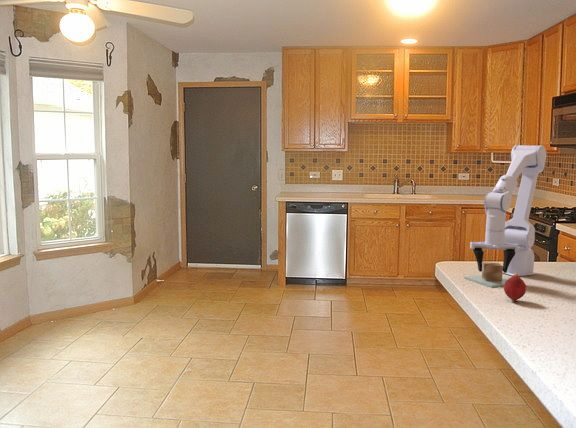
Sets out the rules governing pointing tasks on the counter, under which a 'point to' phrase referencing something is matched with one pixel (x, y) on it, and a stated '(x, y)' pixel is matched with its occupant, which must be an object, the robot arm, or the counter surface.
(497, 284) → the ceramic tile
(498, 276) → the walnut cube
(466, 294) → the counter surface
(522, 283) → the onion
